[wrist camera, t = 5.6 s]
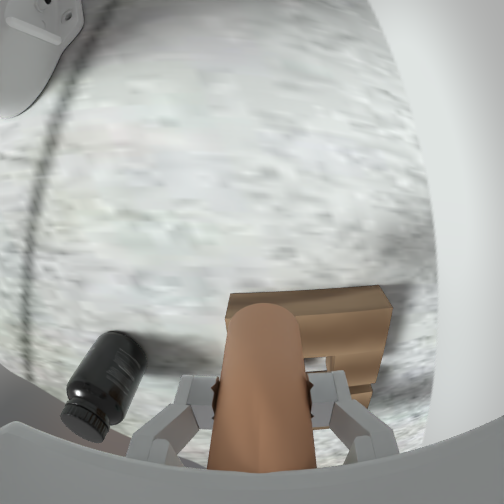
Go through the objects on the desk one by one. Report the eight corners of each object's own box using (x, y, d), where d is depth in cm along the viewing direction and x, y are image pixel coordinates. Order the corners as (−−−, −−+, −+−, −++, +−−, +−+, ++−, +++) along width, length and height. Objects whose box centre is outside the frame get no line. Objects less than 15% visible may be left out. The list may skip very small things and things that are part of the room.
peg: (224, 303, 14) (185, 514, 5) (299, 301, 14) (330, 515, 5) (232, 357, 16) (211, 535, 7) (298, 355, 15) (314, 534, 6)
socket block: (230, 293, 27) (224, 318, 24) (378, 285, 26) (393, 307, 23) (246, 407, 34) (244, 432, 30) (356, 400, 33) (362, 424, 29)
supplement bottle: (90, 327, 30) (39, 397, 19) (140, 332, 30) (96, 415, 19) (107, 369, 33) (69, 438, 22) (154, 376, 33) (123, 455, 22)
